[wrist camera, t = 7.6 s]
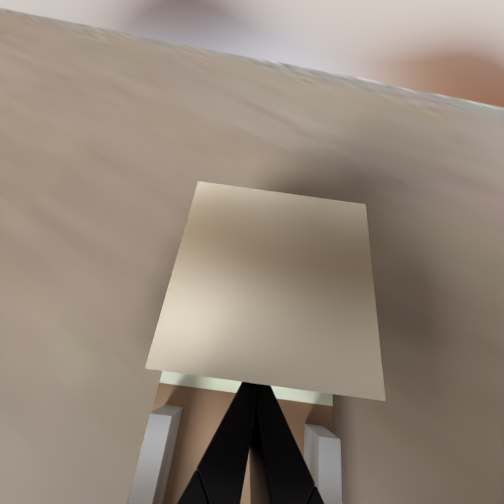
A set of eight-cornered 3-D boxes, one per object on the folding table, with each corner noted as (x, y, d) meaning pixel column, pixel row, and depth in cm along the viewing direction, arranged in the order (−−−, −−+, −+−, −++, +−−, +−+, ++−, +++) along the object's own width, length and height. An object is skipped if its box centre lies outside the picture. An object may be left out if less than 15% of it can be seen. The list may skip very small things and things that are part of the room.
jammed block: (299, 378, 14) (385, 401, 6) (198, 364, 14) (144, 368, 6) (302, 281, 17) (365, 204, 8) (217, 270, 17) (198, 181, 8)
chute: (334, 929, 8) (393, 1274, 5) (37, 888, 8) (-84, 1207, 5) (326, 291, 17) (345, 276, 14) (190, 272, 17) (180, 254, 14)
